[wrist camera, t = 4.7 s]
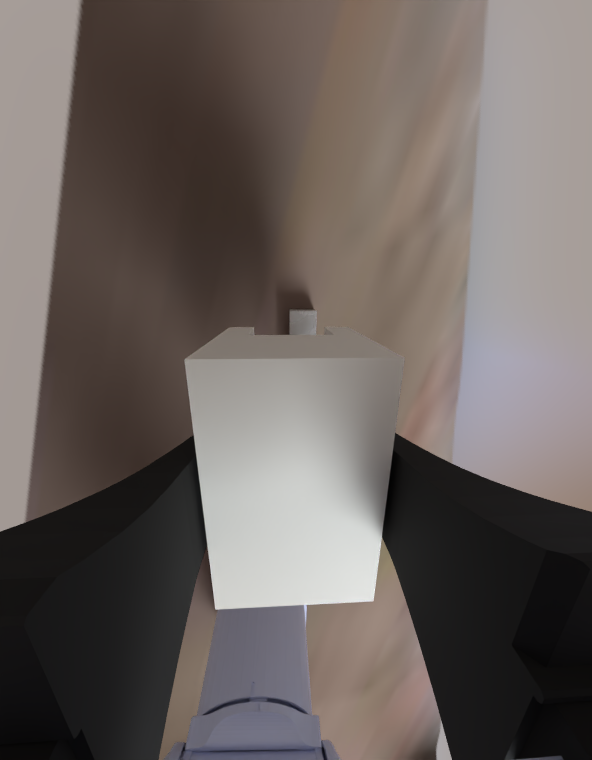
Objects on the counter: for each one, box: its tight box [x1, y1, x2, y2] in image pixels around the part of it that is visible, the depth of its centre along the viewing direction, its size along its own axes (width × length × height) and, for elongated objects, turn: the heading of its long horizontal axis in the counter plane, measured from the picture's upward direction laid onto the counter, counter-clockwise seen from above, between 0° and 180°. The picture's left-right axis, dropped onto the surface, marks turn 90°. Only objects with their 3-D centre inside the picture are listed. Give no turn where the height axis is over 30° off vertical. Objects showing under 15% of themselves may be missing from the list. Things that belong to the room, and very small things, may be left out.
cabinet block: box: [184, 327, 405, 610], centre depth 10 cm, size 8×5×6 cm, turn 0°
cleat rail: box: [289, 309, 317, 335], centre depth 18 cm, size 9×2×2 cm, turn 179°
